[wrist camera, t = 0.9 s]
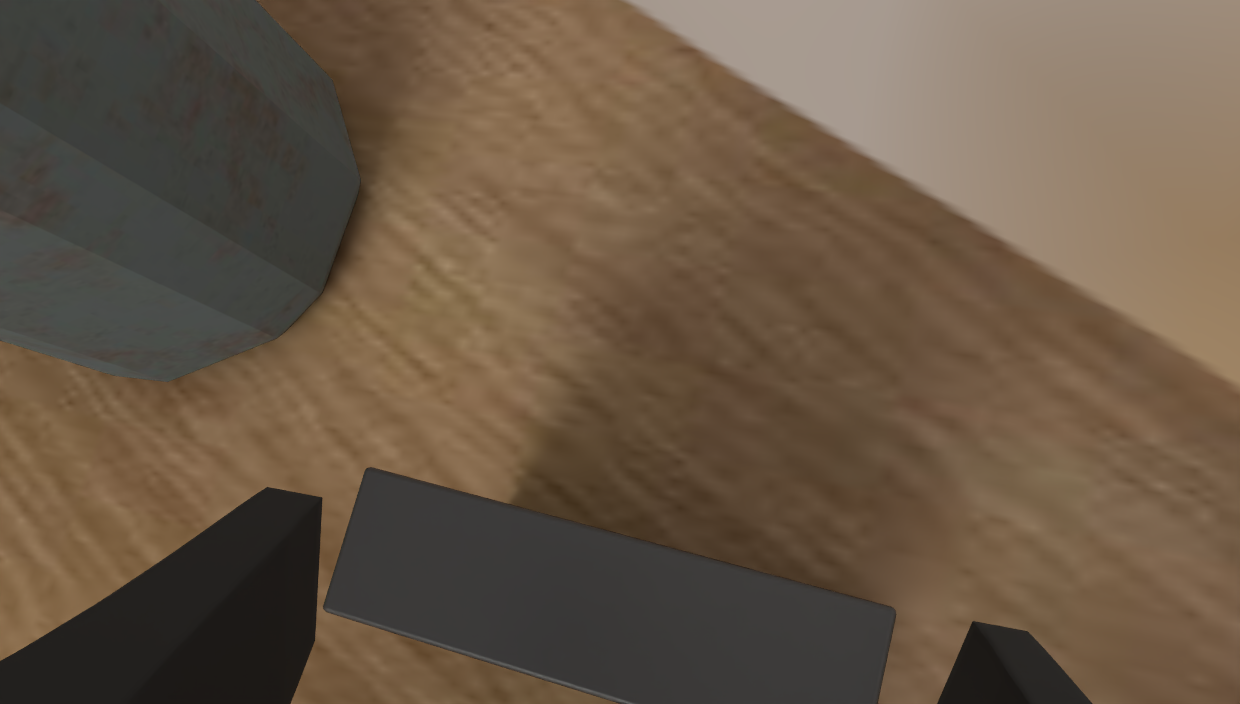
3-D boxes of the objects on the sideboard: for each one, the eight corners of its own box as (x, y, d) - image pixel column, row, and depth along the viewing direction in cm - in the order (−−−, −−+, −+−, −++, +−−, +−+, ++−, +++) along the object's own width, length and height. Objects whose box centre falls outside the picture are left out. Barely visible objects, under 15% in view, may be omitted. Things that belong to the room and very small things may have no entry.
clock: (850, 724, 22) (859, 790, 15) (475, 612, 25) (316, 620, 17) (876, 604, 23) (898, 608, 15) (506, 504, 25) (364, 465, 17)
